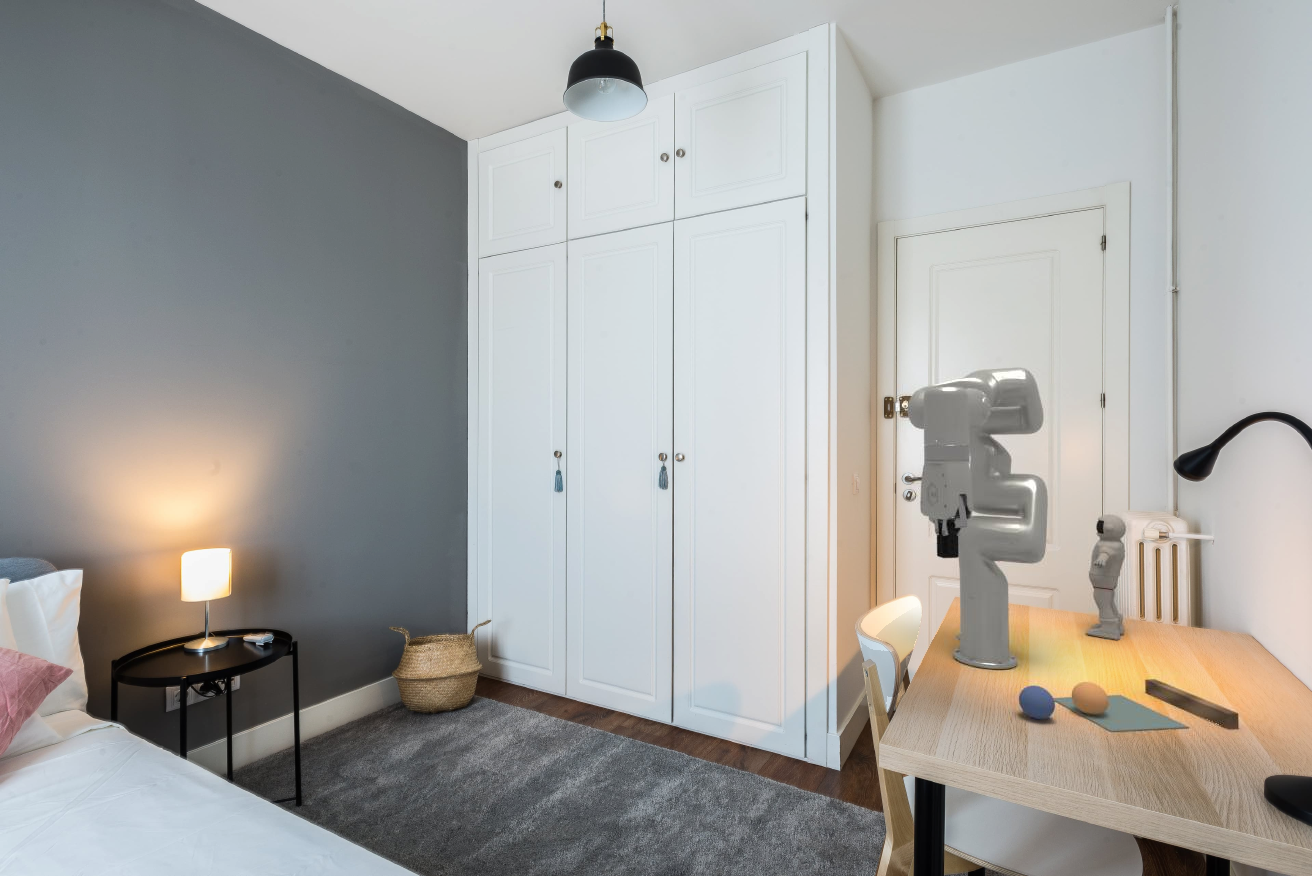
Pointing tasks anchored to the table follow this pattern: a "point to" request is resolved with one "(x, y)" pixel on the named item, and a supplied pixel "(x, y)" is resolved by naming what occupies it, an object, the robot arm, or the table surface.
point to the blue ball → (1036, 702)
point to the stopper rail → (1192, 703)
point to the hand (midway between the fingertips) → (947, 557)
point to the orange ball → (1090, 698)
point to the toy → (1107, 576)
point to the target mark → (1125, 715)
